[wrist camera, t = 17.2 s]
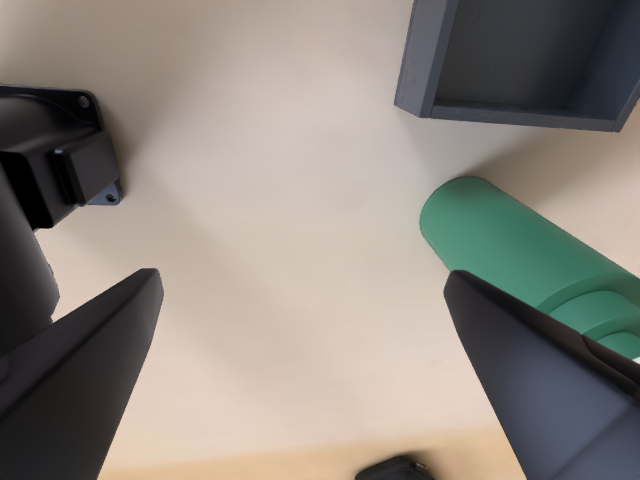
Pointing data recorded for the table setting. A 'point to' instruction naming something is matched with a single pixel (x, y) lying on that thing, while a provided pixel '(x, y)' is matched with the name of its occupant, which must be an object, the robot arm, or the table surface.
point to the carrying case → (396, 471)
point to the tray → (523, 62)
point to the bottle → (533, 261)
